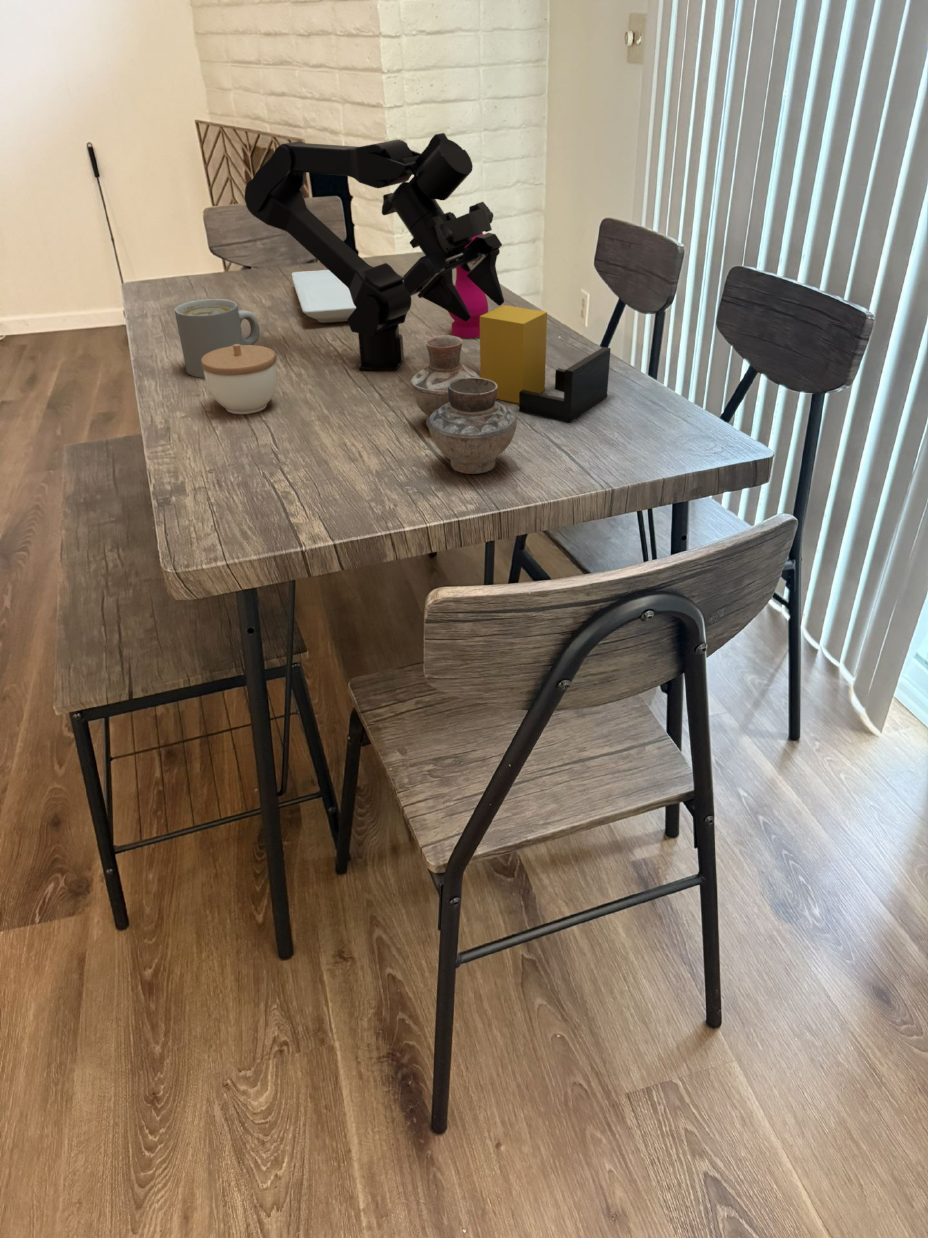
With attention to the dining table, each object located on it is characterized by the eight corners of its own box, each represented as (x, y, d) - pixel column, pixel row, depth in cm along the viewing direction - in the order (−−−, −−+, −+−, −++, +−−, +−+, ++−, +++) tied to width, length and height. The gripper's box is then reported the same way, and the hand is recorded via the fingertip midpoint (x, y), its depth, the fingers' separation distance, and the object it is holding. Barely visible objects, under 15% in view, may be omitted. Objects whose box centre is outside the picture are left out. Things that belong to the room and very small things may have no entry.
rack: (518, 411, 131) (519, 360, 127) (557, 386, 139) (559, 338, 135) (569, 422, 127) (572, 371, 123) (607, 397, 135) (610, 347, 131)
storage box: (479, 395, 137) (478, 315, 130) (503, 381, 142) (503, 304, 135) (522, 404, 133) (523, 323, 127) (544, 390, 138) (547, 311, 131)
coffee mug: (193, 381, 144) (181, 319, 139) (181, 363, 152) (168, 303, 146) (274, 368, 149) (265, 307, 143) (257, 351, 157) (249, 292, 151)
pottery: (473, 407, 133) (472, 326, 126) (528, 477, 113) (530, 385, 106) (399, 416, 130) (394, 334, 124) (441, 489, 111) (438, 396, 104)
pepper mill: (442, 336, 161) (438, 217, 150) (458, 325, 167) (455, 209, 156) (479, 340, 159) (478, 220, 148) (494, 329, 165) (494, 211, 153)
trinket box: (220, 425, 129) (209, 361, 124) (202, 402, 137) (190, 340, 131) (291, 411, 133) (283, 348, 128) (270, 389, 141) (261, 329, 135)
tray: (369, 281, 195) (368, 265, 193) (394, 322, 169) (392, 303, 167) (292, 288, 192) (289, 271, 190) (304, 330, 166) (302, 311, 164)
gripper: (419, 195, 119) (485, 295, 121) (494, 174, 132) (552, 265, 134) (375, 247, 128) (437, 340, 129) (449, 222, 140) (505, 307, 142)
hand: (485, 311), depth 133 cm, fingers open, 9 cm apart
